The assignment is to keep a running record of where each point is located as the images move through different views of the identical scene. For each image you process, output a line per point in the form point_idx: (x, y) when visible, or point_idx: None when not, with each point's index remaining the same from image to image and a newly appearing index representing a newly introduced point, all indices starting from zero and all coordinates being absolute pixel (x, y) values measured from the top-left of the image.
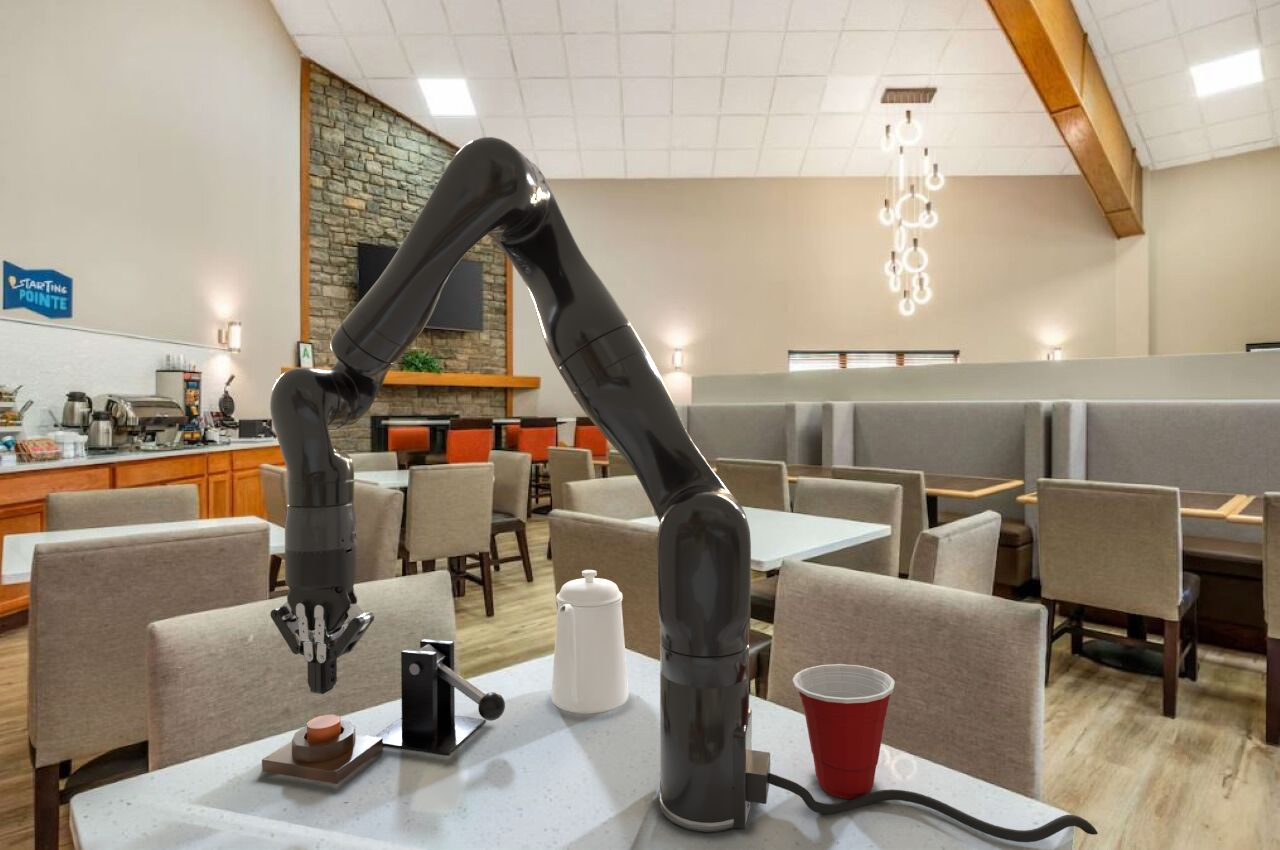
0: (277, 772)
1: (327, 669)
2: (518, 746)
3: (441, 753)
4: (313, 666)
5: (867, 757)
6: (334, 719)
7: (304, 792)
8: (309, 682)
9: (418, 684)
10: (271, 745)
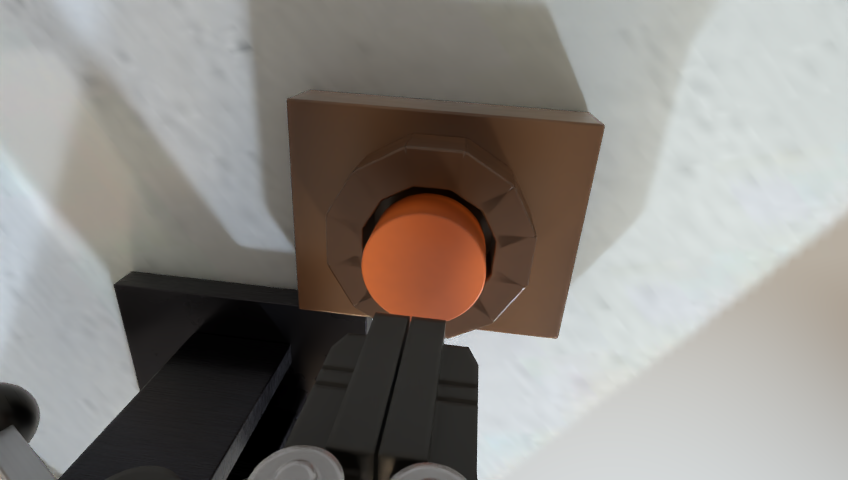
0: (530, 112)
1: (301, 418)
2: (41, 358)
3: (136, 285)
4: (401, 431)
5: None
6: (393, 291)
7: (402, 69)
8: (464, 363)
9: None
10: (685, 291)
